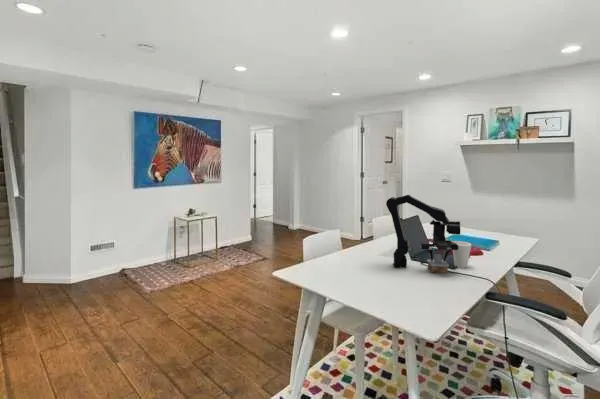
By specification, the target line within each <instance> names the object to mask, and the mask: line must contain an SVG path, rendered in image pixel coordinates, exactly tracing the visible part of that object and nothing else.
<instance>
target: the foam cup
mask: <svg viewBox="0 0 600 399" xmlns="http://www.w3.org/2000/svg"><path fill="white" fill-rule="evenodd" d="M454 242H455V243H456V244H457V245H458V250H453V251H452V253H453V254H452V255H453V263H454V267H456V266H457V267H456V268H460V269H461V268H462V269H465V268H466V269H467V267H468V264H469V259H470V255H471V254H470V253H471V250H472V244H471V243H470V242H467V241H459V240H458V241H454Z"/></svg>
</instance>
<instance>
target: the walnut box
mask: <svg viewBox="0 0 600 399" xmlns="http://www.w3.org/2000/svg"><path fill="white" fill-rule="evenodd" d="M448 268H449V267H446V266H431V265H430V264H429V263H428V262H427V269H428V270H429V272H430V273H431V274H446V275H447V274H448V271H449V269H448Z"/></svg>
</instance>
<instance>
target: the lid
mask: <svg viewBox="0 0 600 399" xmlns="http://www.w3.org/2000/svg"><path fill="white" fill-rule="evenodd" d="M433 257H434V258H433V261H431V259H426V262H427V264H428V263H429V264H430V265H431V266H446V267H448V268H449V267H450V264H449V263H448V262H447V261H446V260H445V261H443V254H441V253H434V256H433Z"/></svg>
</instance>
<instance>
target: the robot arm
mask: <svg viewBox="0 0 600 399" xmlns="http://www.w3.org/2000/svg"><path fill="white" fill-rule="evenodd" d="M385 203H386V204H385V205H386V208H387V209H388V212H389V213H390V214H391V215H390V216H391V218H392V223H393V226H394V230H395V234H396V239H397V242H396V244H397V245H396V246H397V248H396V249H395V251H394V252H393V263H392V265H393V268H397V269H398V268H399V269H400V268H401V269H407V265H408V263H407V262H408V260H407V256H406V255H408V253H409V251H410V248H411V244H410V239H409V238H406V237H405V233H404V229H403V225H402V220H401V217H400V207H399V206H400V205H403V204H409V205H411V206H413V207H415V208H417V209H418V210H421V211H423V212H425V213H426V214H427V215H429V217H431V218H432V221H430V222H429V225H433V227H432V228H433V230H432V241H431V242H432V243H429V242H427V241H420V242H419V244H418V247H419V248H420V249H421V250H425V251H427V253H428V255H429V258H430V259H429V260H431V261H433V260H434V258H433V257H434V256H433V251H434V250H433V249H432V248H436V249H437V251H442V252H443V253H442V260H443V261H446V259H447V257H448V255H449V254H450V252H453V250H458V245H457V244H456V243H455V242H456V241H452V240H446V236H445V235H446V233H448V235H459V236H460V235H461V221H458V220H457V221H454V220H453V221H450V220H449V218H448V217H447V216H446V212H445V210H444V209H442V208H438V207H436V206H432V205H429V204H427V203H425V202H424V201H421V200H419V199H417V198H415V197H413V196H411V195H410V194H405V195H403V196H402V195H401V196H398V197H390V198H388V199H387V200H386V202H385ZM445 232H446V233H445Z"/></svg>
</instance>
